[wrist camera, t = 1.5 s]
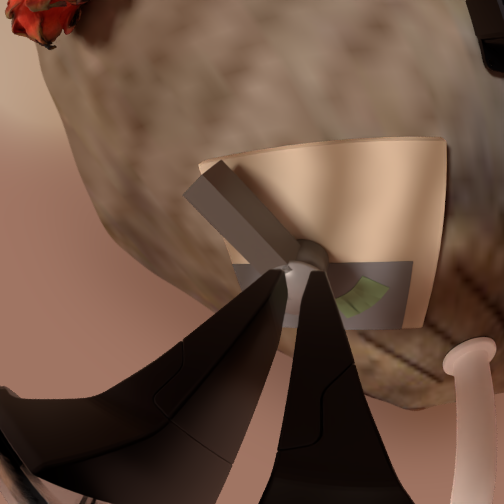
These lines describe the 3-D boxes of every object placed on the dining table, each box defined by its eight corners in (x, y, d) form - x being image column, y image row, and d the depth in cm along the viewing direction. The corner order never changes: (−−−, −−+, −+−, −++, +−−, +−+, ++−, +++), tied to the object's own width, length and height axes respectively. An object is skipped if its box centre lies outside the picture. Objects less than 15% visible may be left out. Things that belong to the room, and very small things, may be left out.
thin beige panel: (441, 137, 12) (447, 141, 11) (420, 319, 21) (422, 329, 20) (204, 160, 19) (197, 165, 18) (257, 316, 27) (254, 325, 26)
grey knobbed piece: (346, 268, 19) (343, 301, 16) (260, 307, 24) (249, 336, 22) (238, 144, 16) (215, 160, 13) (167, 216, 21) (143, 239, 19)
